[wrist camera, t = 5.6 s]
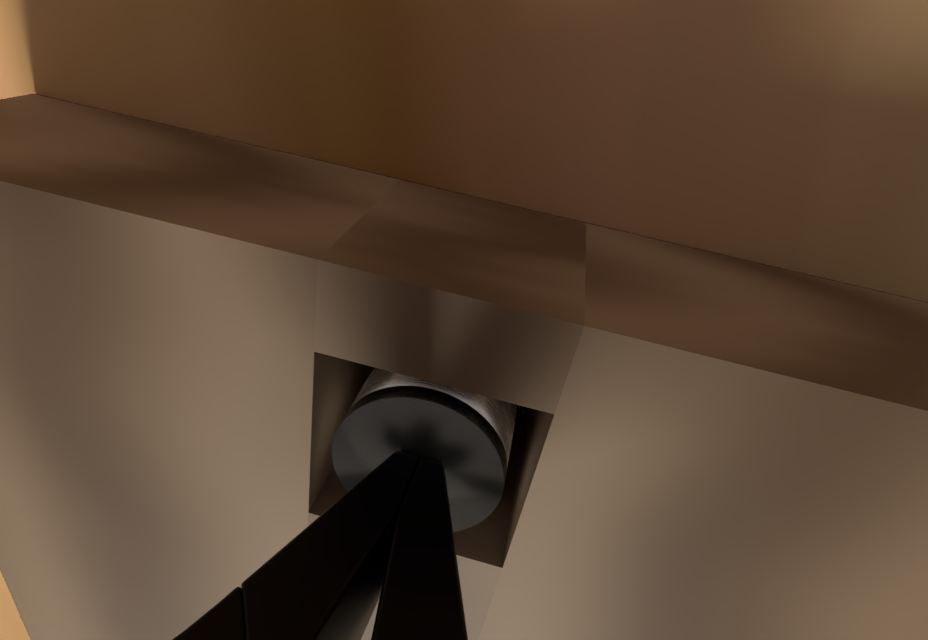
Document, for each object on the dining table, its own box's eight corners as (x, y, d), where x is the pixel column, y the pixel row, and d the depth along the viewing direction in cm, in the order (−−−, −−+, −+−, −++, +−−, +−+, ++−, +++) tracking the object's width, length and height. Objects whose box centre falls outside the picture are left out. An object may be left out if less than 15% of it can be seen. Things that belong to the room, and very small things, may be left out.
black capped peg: (540, 310, 12) (522, 429, 9) (510, 417, 13) (484, 550, 10) (403, 277, 12) (335, 380, 9) (390, 385, 14) (327, 506, 10)
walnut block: (1019, 324, 10) (1228, 485, 7) (678, 737, 19) (697, 896, 16) (33, 93, 12) (-190, 133, 8) (140, 574, 21) (52, 688, 17)
